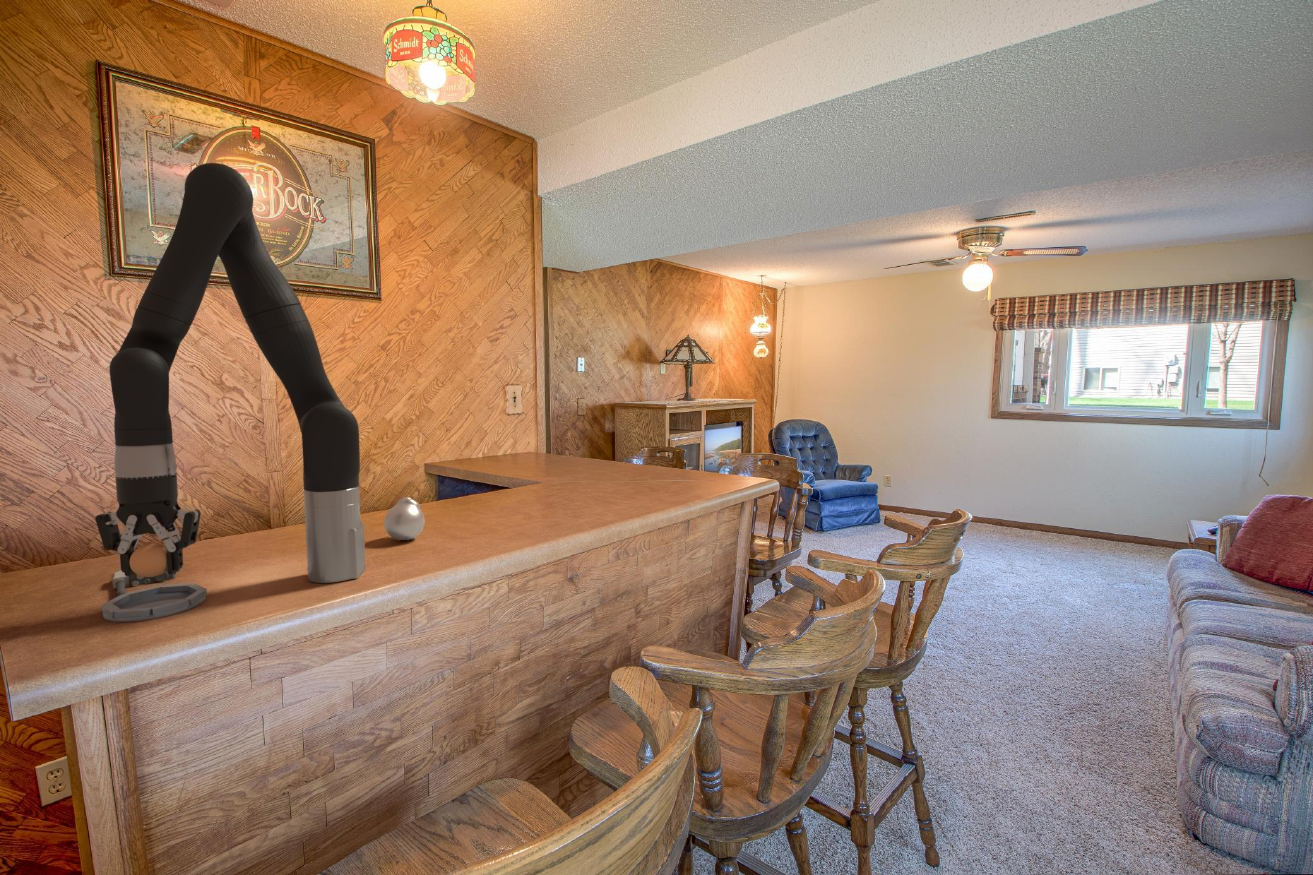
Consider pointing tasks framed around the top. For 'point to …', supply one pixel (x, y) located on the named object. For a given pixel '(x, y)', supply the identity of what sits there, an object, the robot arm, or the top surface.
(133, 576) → the walkie-talkie
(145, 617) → the dish
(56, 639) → the top surface
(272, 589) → the top surface
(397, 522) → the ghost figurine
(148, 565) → the ball
